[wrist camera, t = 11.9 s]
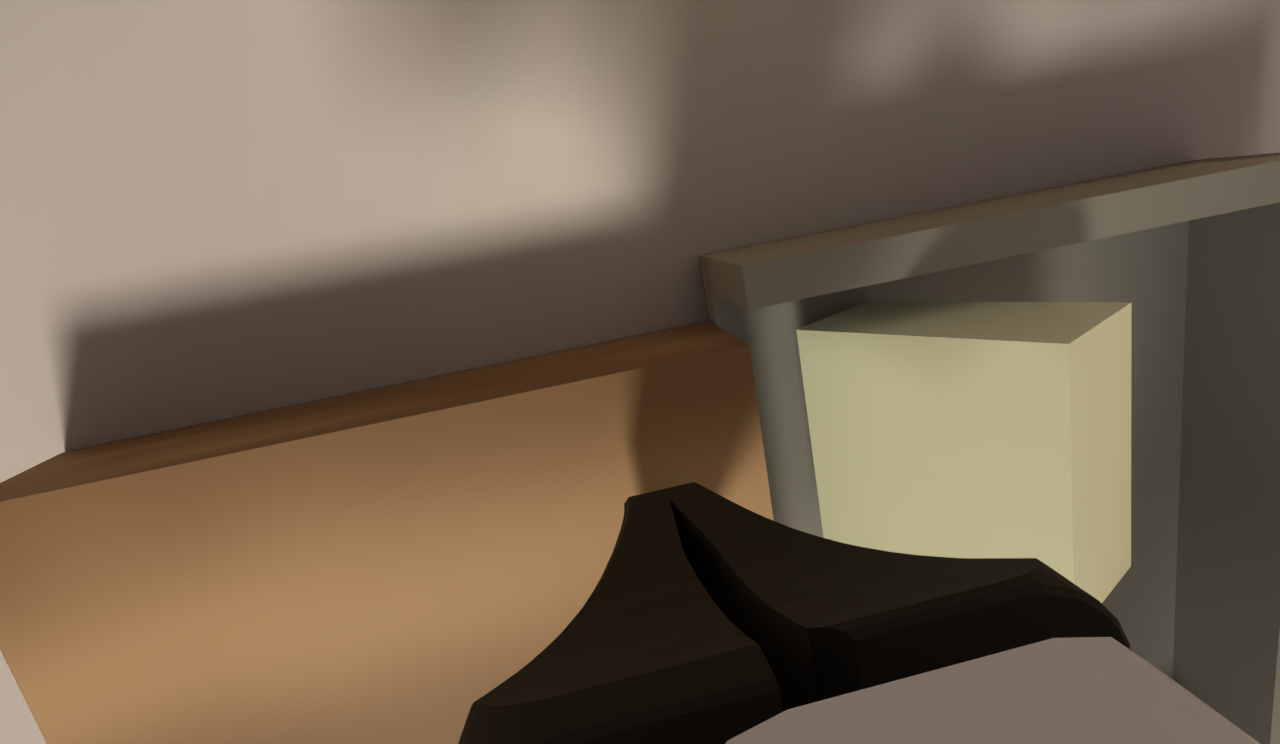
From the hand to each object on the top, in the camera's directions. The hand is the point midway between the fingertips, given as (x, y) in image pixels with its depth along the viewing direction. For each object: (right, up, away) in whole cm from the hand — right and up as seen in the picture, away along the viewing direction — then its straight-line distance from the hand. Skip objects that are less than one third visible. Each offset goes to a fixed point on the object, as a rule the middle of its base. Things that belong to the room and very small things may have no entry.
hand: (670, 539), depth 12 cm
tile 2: (+6, +2, +1) cm, 6 cm away
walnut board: (-5, -4, +4) cm, 7 cm away
